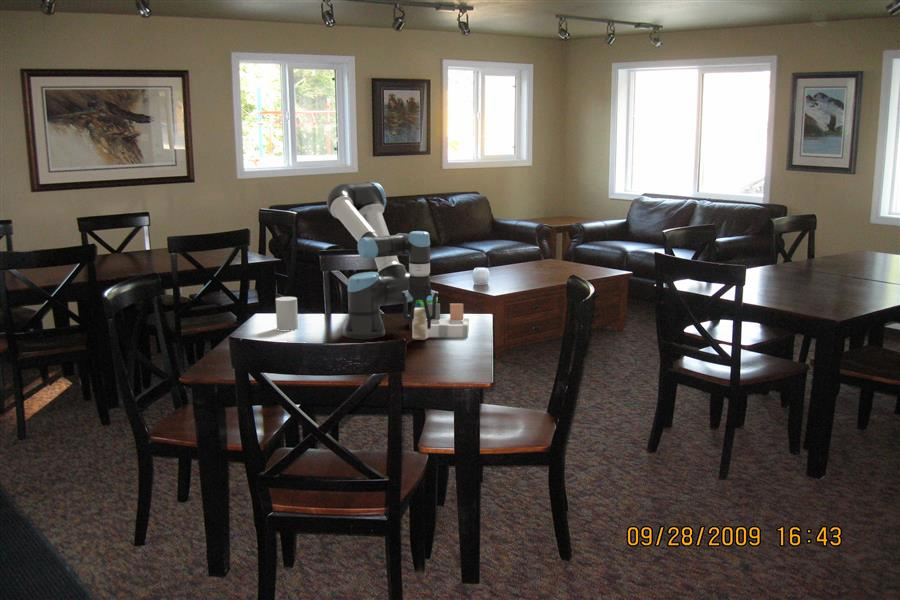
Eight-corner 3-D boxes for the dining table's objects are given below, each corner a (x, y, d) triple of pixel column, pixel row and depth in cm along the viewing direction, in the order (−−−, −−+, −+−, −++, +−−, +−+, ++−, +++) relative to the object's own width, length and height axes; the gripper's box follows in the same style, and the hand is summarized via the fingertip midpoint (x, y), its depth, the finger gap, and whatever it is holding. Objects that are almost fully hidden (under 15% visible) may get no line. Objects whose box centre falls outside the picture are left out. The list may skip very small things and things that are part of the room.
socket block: (419, 337, 314) (419, 309, 312) (422, 329, 326) (421, 303, 324) (467, 337, 313) (467, 309, 311) (468, 329, 325) (468, 303, 323)
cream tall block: (414, 339, 307) (413, 309, 304) (415, 336, 311) (415, 307, 308) (425, 339, 307) (425, 310, 304) (426, 336, 310) (425, 307, 308)
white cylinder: (286, 325, 335) (285, 296, 333) (302, 327, 331) (301, 297, 329) (272, 329, 328) (271, 299, 326) (288, 332, 324) (287, 301, 322)
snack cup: (416, 317, 347) (415, 293, 345) (441, 318, 346) (440, 294, 344) (408, 326, 332) (407, 301, 330) (434, 327, 330) (434, 301, 328)
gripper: (394, 276, 300) (395, 339, 305) (442, 276, 299) (442, 340, 304) (397, 272, 308) (398, 334, 313) (443, 272, 307) (444, 335, 312)
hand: (420, 337), depth 308 cm, fingers closed on cream tall block, 4 cm apart
